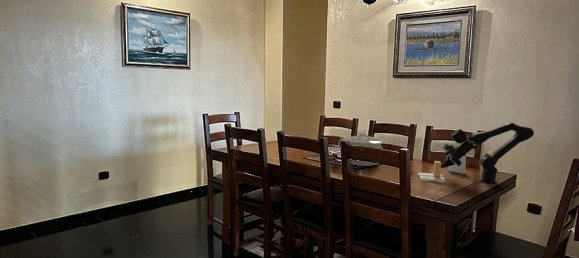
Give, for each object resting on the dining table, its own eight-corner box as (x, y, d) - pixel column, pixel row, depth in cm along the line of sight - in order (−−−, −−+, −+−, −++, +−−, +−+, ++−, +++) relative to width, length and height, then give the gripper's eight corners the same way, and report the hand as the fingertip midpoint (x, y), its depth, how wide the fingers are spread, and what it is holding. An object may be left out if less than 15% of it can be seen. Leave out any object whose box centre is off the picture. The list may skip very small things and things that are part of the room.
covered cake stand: (392, 168, 254) (393, 136, 251) (353, 170, 245) (354, 137, 243) (370, 159, 280) (371, 130, 277) (334, 161, 272) (335, 131, 269)
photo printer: (446, 171, 249) (448, 151, 247) (450, 170, 252) (451, 151, 250) (462, 174, 241) (464, 154, 240) (466, 173, 244) (467, 153, 242)
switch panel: (440, 176, 235) (440, 173, 235) (445, 182, 222) (445, 179, 222) (417, 175, 238) (417, 172, 237) (421, 181, 224) (421, 178, 224)
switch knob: (438, 176, 231) (439, 161, 230) (440, 178, 227) (441, 162, 225) (433, 176, 232) (434, 160, 230) (434, 178, 227) (435, 162, 226)
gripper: (449, 136, 234) (428, 154, 237) (456, 141, 216) (434, 160, 219) (462, 150, 234) (441, 167, 237) (471, 157, 215) (448, 175, 219)
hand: (440, 167), depth 228 cm, fingers closed
